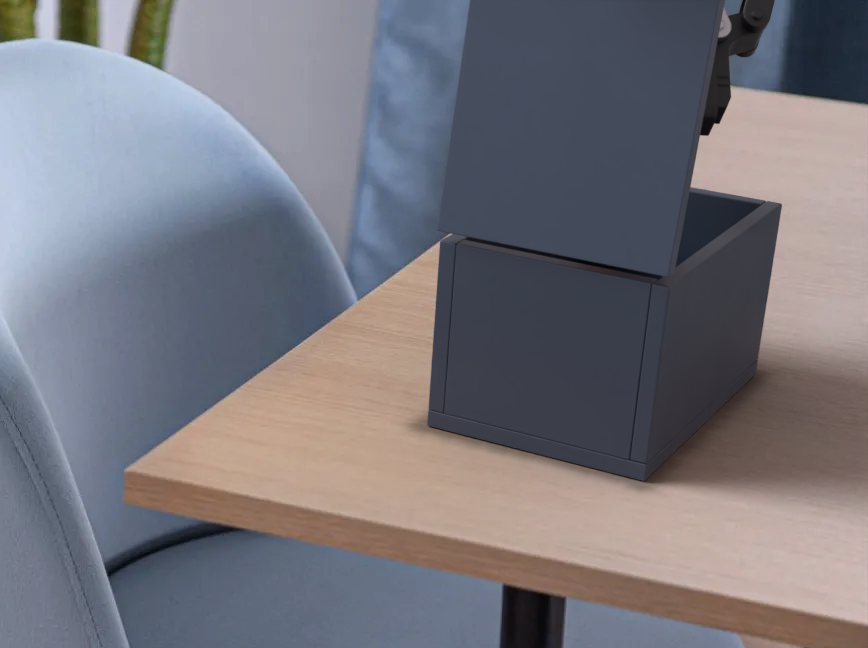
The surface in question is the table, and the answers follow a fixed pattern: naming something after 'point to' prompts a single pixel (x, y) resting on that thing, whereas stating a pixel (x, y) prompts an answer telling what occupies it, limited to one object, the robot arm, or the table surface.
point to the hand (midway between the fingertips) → (646, 122)
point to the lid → (580, 126)
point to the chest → (602, 340)
